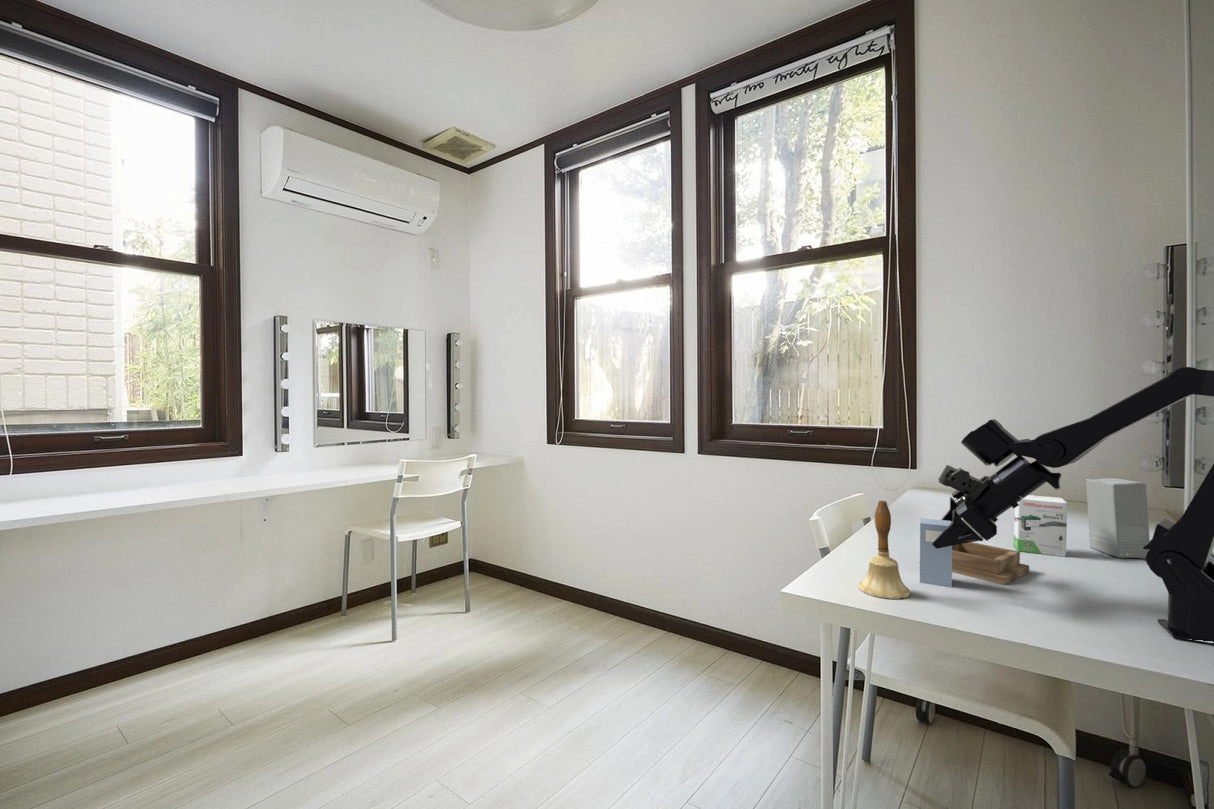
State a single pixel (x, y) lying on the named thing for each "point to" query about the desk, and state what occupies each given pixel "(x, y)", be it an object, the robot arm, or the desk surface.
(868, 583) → the hand bell
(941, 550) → the box
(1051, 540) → the ink box
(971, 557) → the tray
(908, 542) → the desk surface
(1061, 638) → the desk surface
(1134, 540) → the skincare box
